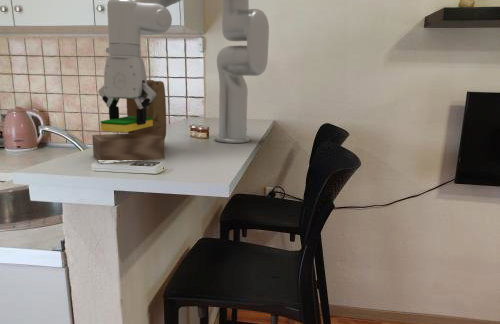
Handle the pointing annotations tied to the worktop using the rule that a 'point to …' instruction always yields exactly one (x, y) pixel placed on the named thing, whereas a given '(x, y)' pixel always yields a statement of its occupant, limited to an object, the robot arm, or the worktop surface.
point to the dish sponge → (124, 124)
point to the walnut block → (128, 146)
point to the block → (152, 110)
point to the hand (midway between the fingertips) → (127, 122)
